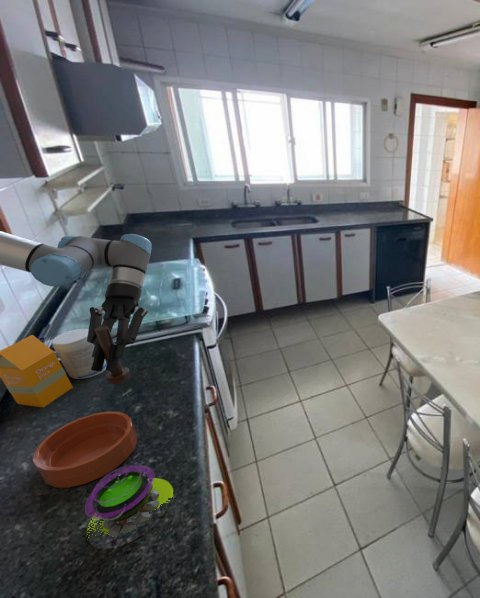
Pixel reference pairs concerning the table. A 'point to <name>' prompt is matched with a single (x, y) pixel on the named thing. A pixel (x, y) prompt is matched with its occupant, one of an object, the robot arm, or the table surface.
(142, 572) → the table surface
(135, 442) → the bowl
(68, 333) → the supplement tub
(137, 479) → the toy cauldron
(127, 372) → the wooden masher
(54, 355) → the orange juice
